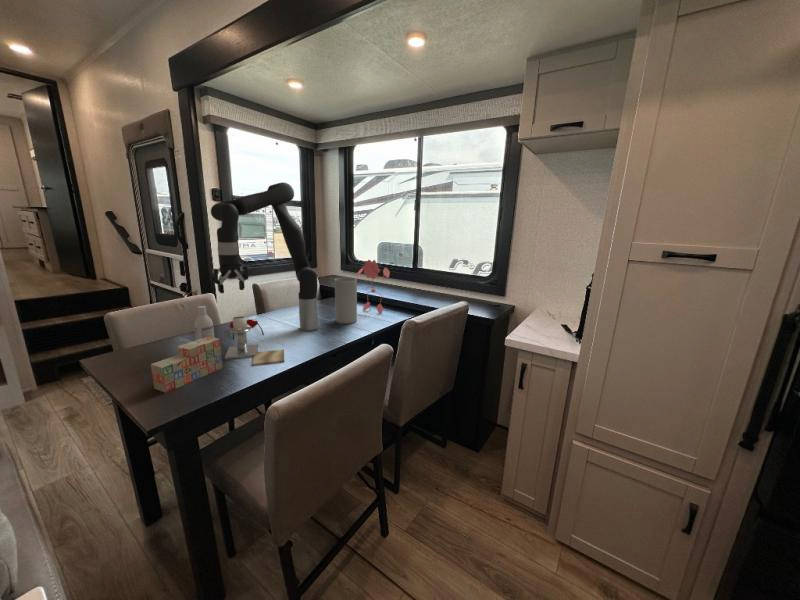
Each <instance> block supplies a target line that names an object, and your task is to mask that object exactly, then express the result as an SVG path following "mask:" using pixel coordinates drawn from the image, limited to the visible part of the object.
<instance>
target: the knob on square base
mask: <svg viewBox="0 0 800 600" xmlns="http://www.w3.org/2000/svg"><path fill="white" fill-rule="evenodd" d="M251 328H252V327H250V326H247V329H246V330H244V331H234V328H230V329H229V331H230V333H232V334H233V333H234V334H235V340H236V346H229V347H228V349H227V352H226V354H225V356H224V360H225V361H227V360H235V359H236V360H238V359H245V358H254V355H257V352H259V344H258V343H257V344H248V339H247V333H248V332H250V331H251Z"/></svg>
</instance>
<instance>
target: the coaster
mask: <svg viewBox="0 0 800 600" xmlns="http://www.w3.org/2000/svg"><path fill="white" fill-rule="evenodd" d="M279 363H285V349H284V348H283V349H277V350H276V349H275V350H266V351H265V350H264V351H258V352H257V355H254V357H252V364H251V365H252V366H262V365H270V364H279Z"/></svg>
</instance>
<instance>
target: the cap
mask: <svg viewBox="0 0 800 600" xmlns="http://www.w3.org/2000/svg"><path fill="white" fill-rule="evenodd" d="M247 320H248V319H247V316H245V315H244V316H243V315H241V316H234V317H233V318H232V322H233V328H234V331H244V330H246V329H247V327H248V324H247Z"/></svg>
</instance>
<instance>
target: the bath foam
mask: <svg viewBox="0 0 800 600" xmlns="http://www.w3.org/2000/svg"><path fill="white" fill-rule="evenodd" d="M197 314H198V315H197V317H196V319H195V320H194V325H193V326H194V334H195V335H194V336H195V340H198V339H203V338H206V337H213V338H216V337H215V329H214V323H213V320H212V319H211V317H210V316H209V315H208V314H207V307H206V306H205V305H200V306H197Z"/></svg>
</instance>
